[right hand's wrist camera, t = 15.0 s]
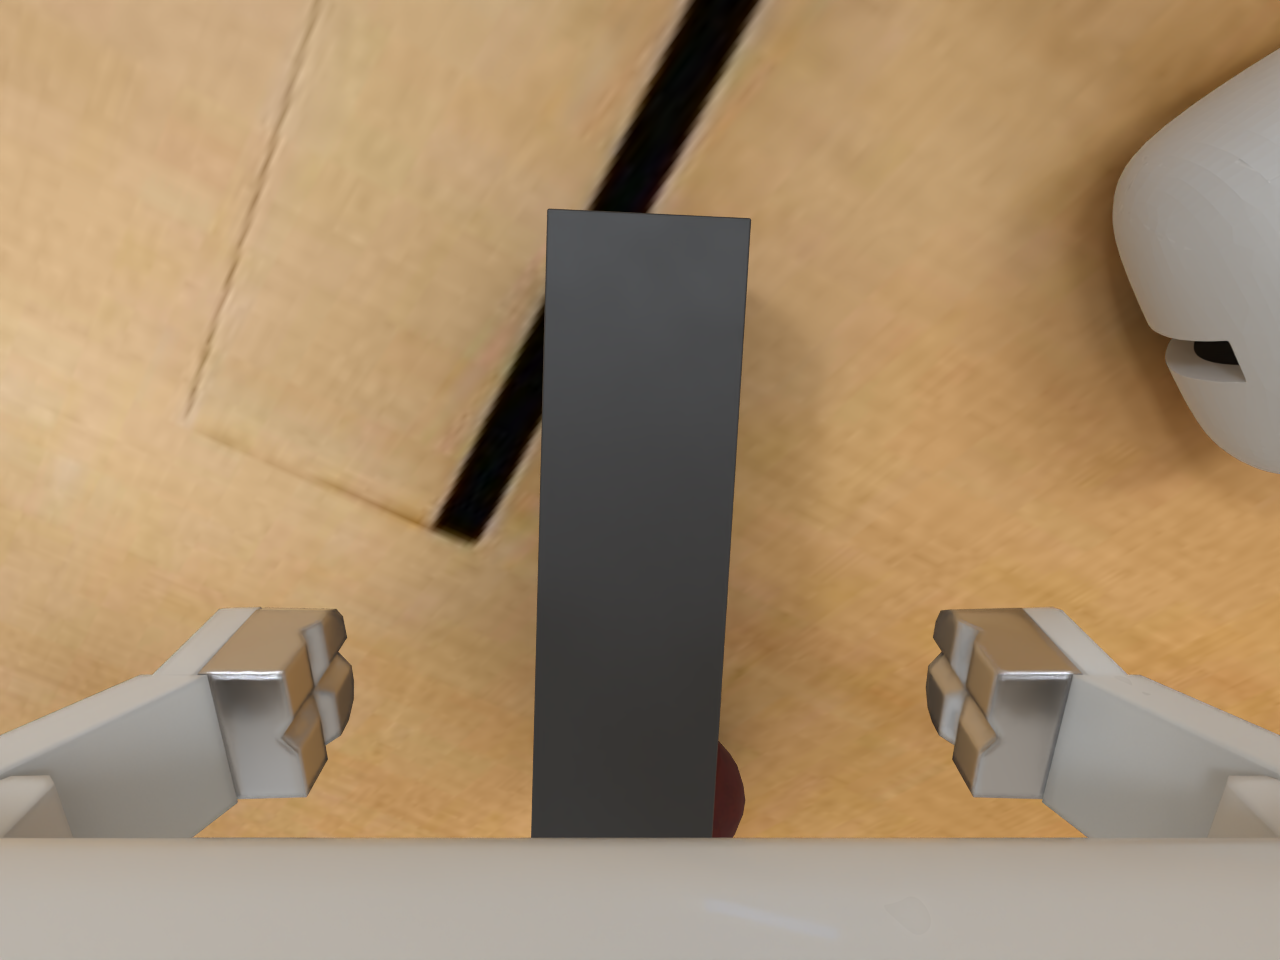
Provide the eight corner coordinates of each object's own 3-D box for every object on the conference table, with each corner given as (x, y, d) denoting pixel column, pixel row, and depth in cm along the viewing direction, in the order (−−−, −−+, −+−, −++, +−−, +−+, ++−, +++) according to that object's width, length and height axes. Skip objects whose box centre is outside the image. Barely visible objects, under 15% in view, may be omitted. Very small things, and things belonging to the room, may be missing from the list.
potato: (611, 803, 45) (606, 908, 38) (606, 695, 42) (600, 789, 36) (734, 802, 45) (751, 907, 38) (738, 693, 42) (756, 786, 36)
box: (573, 256, 34) (547, 208, 24) (716, 263, 34) (751, 217, 24) (556, 780, 38) (528, 931, 27) (686, 785, 38) (706, 938, 28)
